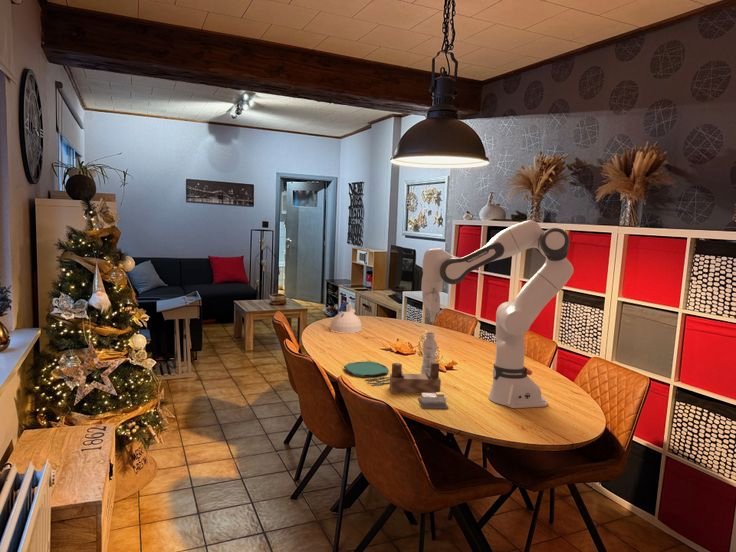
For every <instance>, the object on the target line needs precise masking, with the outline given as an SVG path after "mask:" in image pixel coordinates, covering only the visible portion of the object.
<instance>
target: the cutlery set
mask: <svg viewBox="0 0 736 552" xmlns="http://www.w3.org/2000/svg"><path fill="white" fill-rule="evenodd" d="M343 368H344V369H345V371H346V372H347V373H349V374H352V375H353V376H355V377H358V378H359V377H360V378H362V377H376V378H367V379H365V380H364V382H367V383H368V384H370V386H371V387H379V386H380V387H381V386H383V385H384V386H385V385H390V376H381V375H383V374H386V375H388V374H389V372H390V370H389V368H388V367H387V366H386V365H384V364H382V363H379V362H376V361H370V360H369V361H367V360H366V361H356V362H348V363H347V364H345V365H344V366H343ZM377 376H379V377H377ZM380 376H381V377H380ZM372 381H373V382H372ZM374 381H376V382H374ZM388 381H389V382H388ZM369 382H370V383H369Z"/></svg>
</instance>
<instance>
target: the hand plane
mask: <svg viewBox="0 0 736 552" xmlns="http://www.w3.org/2000/svg"><path fill="white" fill-rule="evenodd" d="M402 365H403V364H402V363H400V362H394V363H391V373H390V374H389V377H390V378H389V379H390V380H389V382H390V384H389V390H390V393H391V394H416V393H420V394H419V395H421V393H436V392H441V381H442V380H441V378H440V376H439V375H440V373H439V372H440V363H439V361H435V362H431V371H430V374H429V372H426V374H421V373H404V372H403V370H402V369H403V366H402Z"/></svg>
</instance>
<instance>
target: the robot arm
mask: <svg viewBox="0 0 736 552" xmlns="http://www.w3.org/2000/svg"><path fill="white" fill-rule="evenodd" d="M570 243H571V240H570V236H569V235H568V233H567V232H566V231H565V230H564V229H562V228H558V227H552V228H548V229H545V230H544V229H542V228H541V225H540V224H539V223H538V222H537V221H535V220H533V219H528V220H524V221H521V222H519V223H516V224H513V225H510V226H508V227H507V228H505V229H503V230H501V231H499V232H498V233H496V234H495V235H494V236H493V237H491V239H490V240H489V241H488V242H487V243H486V244H485V245H484V246H482V247H481V248H479V249H477V250H475V251H474V252H471V253H470V254H467V255H465V256H463V257H459V256H455V255H453V254H451V253H449V252H447V251H446V250H445V249H443V248H440V247H437V248H436V247H435V248H430V249H429V248H428V249H427V250H426V251H425V252H424V254H423V259H422V268H421V269H422V270H421V271H422V277H421V286H420V288H421V289H420V290H421V292H422V296H421V297H422V304H423V305H424V307H425V317H426V318H429V321H430V322H431V323H435V322H436V316H437V314H438V313H440V311H441V295H440V293H442V292H443V289H444V288H443V287H444V282H445V283H447V284H448V285H457V284H459V283H461V282H462V281H464V279H465V278H466V277H467V276H468V274H469V273H471V272H472V271H474V270H477V269H479V268H480V267H483V266H485V265H487V264H490V263H491V262H495V261H499V260H503V259H507V258H511V257H512V256H515V255H517V254H521V253H522V252H524V251H526V250H529V249H533V248H534V249H535V250H536V251H537V252H538V253H539V254H540V255H541V256H542V257H544V258H545V261H544V263H543V265H542V266H541V267H540V268H539V269H538V270H537V272H535V274H534V275H532V277H530V279H528V280H527V282H526V283H525V284H524V285H523V286H522V287H521V289H520V291H519V292H518V294H517V295H516V297H515V298H514V299H513V300H512V301H505V302H502V303H501V304H499V305H498V307H497V310H496V312H495V358H494V359H495V360H494V364H493V368H492V378H493V379H492V383H491V388H490V392H489V394H488V400H490V401H492V402H493V403H495V404H498V405H502V406H506V407H509V408H511V409H524V408H538V407H539V408H541V407H547V406H548V401H547V400H546V398H544V396H542V390H541V388H540V386H539V385H538V384H537V383H536V382H535V381H534V380H533V379H531V377H529V376H532V374H533V371H532V370H531V369H530V368H528V367H526V366H525V365H524V364H525V352H526V351H525V350H526V345H525V344H526V343H525V334H526V333H527V332H528V331H529V330H530V328H531V325H532V324H533V323H534V321H535V320H536V319H537V317H538V316H539V315H540V313H541V312H542V310H543V309H544V308H545V307H546V306H547V304H548V303H549V302H550V301H551V300H553V298H554V297H555V296H556V295H557V294H558V293H559V292H560V291H561V290H562V289H563V288H564V287H565V285H566V284H567V283H568V281H569V280H570V279H571V277H572V275H573V274H574V271H575V270H574V267H573V264H572V263H571V262H570V260H569V259H568V258H567V256H568V254H569V249H570V246H571V245H570Z"/></svg>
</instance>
